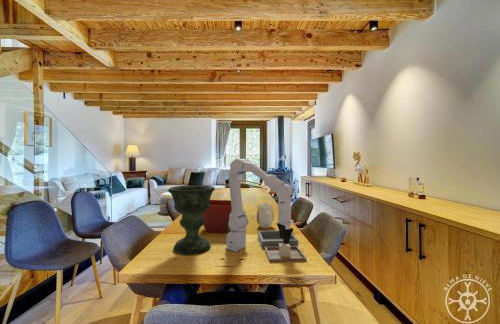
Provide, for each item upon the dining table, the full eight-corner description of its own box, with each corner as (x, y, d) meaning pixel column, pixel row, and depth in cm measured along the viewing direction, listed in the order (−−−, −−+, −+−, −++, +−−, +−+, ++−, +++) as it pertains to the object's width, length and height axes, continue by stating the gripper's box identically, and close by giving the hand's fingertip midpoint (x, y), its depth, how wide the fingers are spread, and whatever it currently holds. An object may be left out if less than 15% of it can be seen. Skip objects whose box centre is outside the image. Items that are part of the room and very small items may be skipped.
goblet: (222, 244, 141) (222, 186, 140) (199, 259, 120) (198, 191, 119) (187, 239, 149) (186, 184, 149) (158, 252, 128) (158, 189, 128)
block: (290, 256, 122) (290, 246, 122) (280, 256, 122) (280, 246, 122) (288, 252, 126) (288, 243, 126) (278, 253, 126) (278, 243, 126)
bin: (298, 248, 135) (298, 240, 135) (261, 249, 133) (261, 241, 133) (290, 237, 153) (290, 230, 153) (257, 238, 151) (257, 230, 151)
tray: (306, 262, 117) (306, 258, 117) (269, 264, 116) (269, 259, 115) (297, 249, 133) (297, 245, 133) (264, 250, 131) (264, 246, 131)
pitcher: (259, 231, 165) (259, 208, 165) (254, 223, 183) (254, 203, 182) (277, 230, 167) (277, 208, 166) (270, 223, 184) (270, 202, 184)
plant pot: (236, 226, 177) (236, 200, 177) (231, 234, 158) (231, 205, 158) (207, 225, 179) (207, 199, 179) (198, 233, 160) (198, 204, 160)
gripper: (297, 214, 117) (297, 246, 117) (289, 207, 131) (289, 236, 131) (280, 214, 116) (280, 246, 116) (275, 208, 131) (275, 236, 131)
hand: (284, 241), depth 124 cm, fingers open, 7 cm apart
